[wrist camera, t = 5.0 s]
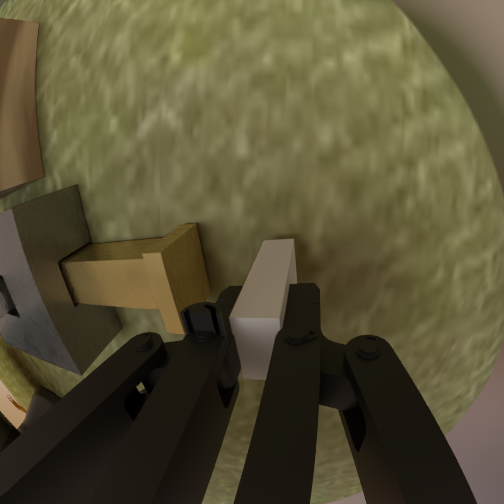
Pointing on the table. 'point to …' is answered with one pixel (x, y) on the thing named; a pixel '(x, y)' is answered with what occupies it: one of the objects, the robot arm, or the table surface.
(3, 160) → the rack
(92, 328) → the socket block
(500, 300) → the table surface
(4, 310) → the round-ended peg
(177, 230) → the brass square peg
